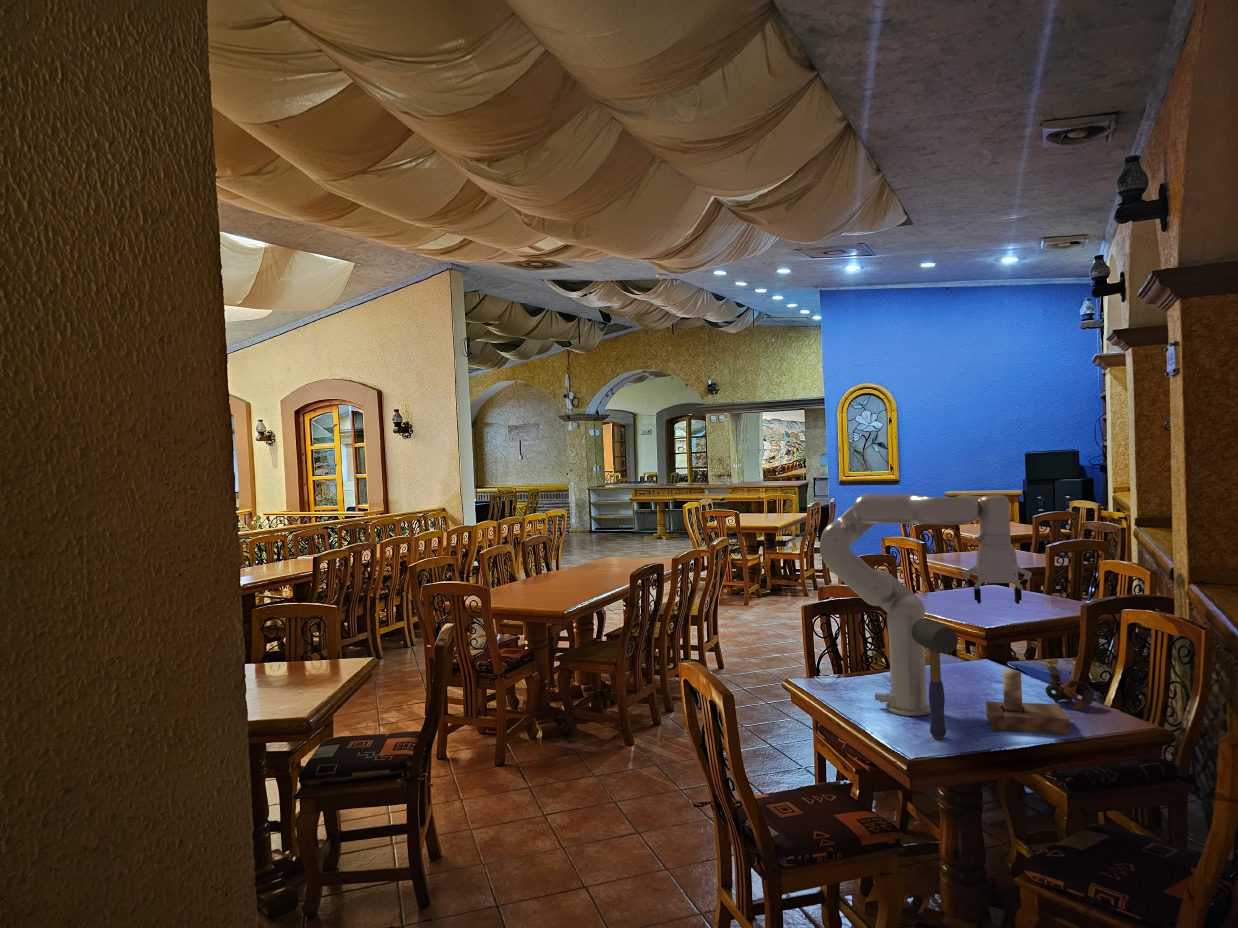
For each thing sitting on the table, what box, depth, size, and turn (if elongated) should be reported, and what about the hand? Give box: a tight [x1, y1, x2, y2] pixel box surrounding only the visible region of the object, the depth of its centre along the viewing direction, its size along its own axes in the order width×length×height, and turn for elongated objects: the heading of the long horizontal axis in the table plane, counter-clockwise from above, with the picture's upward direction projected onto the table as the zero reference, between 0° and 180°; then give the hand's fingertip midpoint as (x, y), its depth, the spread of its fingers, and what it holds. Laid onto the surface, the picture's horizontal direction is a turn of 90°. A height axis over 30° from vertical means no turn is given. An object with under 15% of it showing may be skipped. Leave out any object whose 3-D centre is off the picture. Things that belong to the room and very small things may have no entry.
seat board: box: [985, 700, 1071, 735], centre depth 222 cm, size 18×13×4 cm
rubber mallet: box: [911, 618, 959, 740], centre depth 215 cm, size 12×8×30 cm, turn 8°
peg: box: [1002, 669, 1023, 713], centre depth 222 cm, size 5×5×14 cm
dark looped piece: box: [1045, 679, 1095, 712], centre depth 236 cm, size 12×10×8 cm
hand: (997, 602), depth 229 cm, fingers open, 9 cm apart
